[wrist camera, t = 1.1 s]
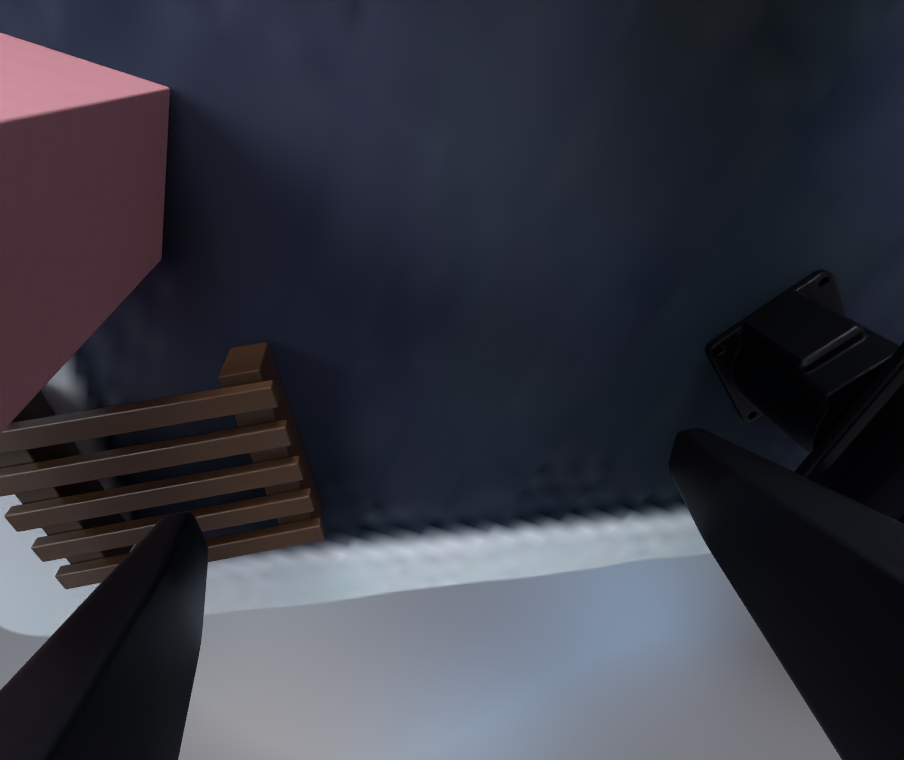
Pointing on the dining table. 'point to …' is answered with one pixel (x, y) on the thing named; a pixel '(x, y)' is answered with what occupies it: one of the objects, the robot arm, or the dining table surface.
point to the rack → (98, 511)
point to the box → (71, 205)
